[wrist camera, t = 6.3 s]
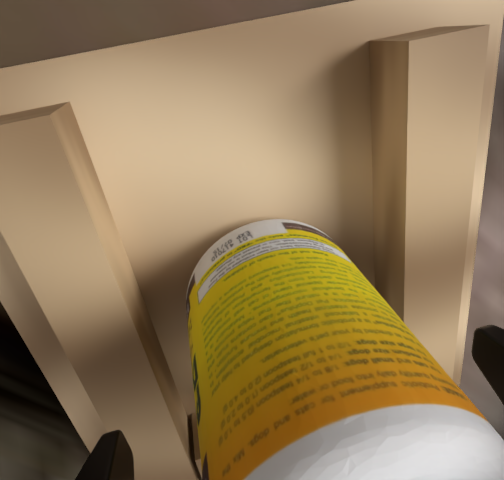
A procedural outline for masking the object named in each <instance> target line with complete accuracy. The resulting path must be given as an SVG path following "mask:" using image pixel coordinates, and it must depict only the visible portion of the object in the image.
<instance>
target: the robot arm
mask: <svg viewBox="0 0 504 480" xmlns="http://www.w3.org/2000/svg"><path fill="white" fill-rule="evenodd" d="M472 356H473V359H474V361H475V363H476V364H477V366H478V367H479V369H480V370H481V372H482V373H483V375H484V376H485V378H486V379H487V381H488V382H489V384H490V385H491V387H492V388H493V390H494V391H495V393H496V394H497V396H498V397H499V399H500V400H501V402H502V403H503V405H504V329H502V328H499V327H497V326H494V325H487V326H483V327H480V328H477V329H476V330H475V331H474V337H473V344H472ZM75 480H134V459H133V453H132V450H131V448H130V446H129V444H128V442H127V440H126V438H125V436H124V434H123V432H122V431H121V430H115V431H111V432H107V433H105V434H103V435H102V436H101V437H100V439H99V440H98V442H97V444H96V445H95V447H94V449H93V450H92V452H91V454H90V455H89V457H88V459H87V460H86V462H85V464H84V465H83V467H82V469H81V470H80V472H79V474H78V476H77V477H76V479H75Z"/></svg>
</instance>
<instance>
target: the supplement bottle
mask: <svg viewBox="0 0 504 480" xmlns="http://www.w3.org/2000/svg"><path fill="white" fill-rule="evenodd" d="M186 311H187V325H188V336H189V346H190V356H191V366H192V377H193V388H194V397H195V408H196V417H197V428H198V437H199V447H200V457H201V469H202V480H504V441H503V439H502V438H501V437H500V435H499V434H498V433H497V432H496V430H495V429H494V428H493V427H492V426H491V425H490V423H489V422H488V421H487V420H486V419H485V417H484V416H483V415H482V414H481V413H480V411H479V410H478V409H477V408H476V407H475V405H474V404H473V403H472V402H471V401H470V400H469V398H468V397H467V396H466V395H465V394H464V393H463V391H462V390H461V389H460V388H459V387H458V386H457V385H456V384H455V382H454V381H453V380H452V379H451V378H450V377H449V375H448V374H447V373H446V372H445V371H444V369H443V368H442V367H441V366H440V365H439V364H438V362H437V361H436V360H435V359H434V358H433V356H432V355H431V354H430V353H429V352H428V350H427V349H426V348H425V347H424V346H423V345H422V344H421V342H420V341H419V340H418V339H417V338H416V336H415V335H414V334H413V333H412V332H411V331H410V329H409V328H408V327H407V326H406V325H405V323H404V322H403V321H402V320H401V319H400V317H399V316H398V315H397V314H396V313H395V312H394V310H393V309H392V308H391V307H390V306H389V304H388V303H387V302H386V301H385V300H384V299H383V297H382V296H381V295H380V294H379V293H378V292H377V290H376V289H375V288H374V287H373V286H372V285H371V283H370V282H369V281H368V280H367V279H366V278H365V277H364V275H363V274H362V273H361V272H360V271H359V269H358V268H357V267H356V266H355V265H354V263H353V262H352V261H351V260H350V259H349V258H348V256H347V255H346V254H345V253H344V252H343V250H342V249H341V248H340V247H339V246H338V245H337V244H336V243H335V242H334V241H333V240H332V239H331V238H330V237H329V236H328V235H326V234H325V233H324V232H322V231H320V230H319V229H317V228H315V227H313V226H311V225H308V224H305V223H302V222H298V221H294V220H287V219H269V220H262V221H257V222H253V223H250V224H247V225H244V226H242V227H239V228H237V229H235V230H233V231H231V232H230V233H228V234H226V235H225V236H223V237H222V238H220V239H219V240H218V241H217V242H216V243H214V244H213V245H212V246H211V247H210V248H209V249H208V250H207V251H206V253H205V254H204V255H203V256H202V258H201V259H200V260H199V262H198V264H197V265H196V267H195V269H194V271H193V273H192V275H191V278H190V281H189V284H188V289H187V295H186Z"/></svg>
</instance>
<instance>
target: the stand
mask: <svg viewBox="0 0 504 480" xmlns="http://www.w3.org/2000/svg"><path fill="white" fill-rule="evenodd" d="M503 16H504V0H355V1H350V2H344V3H339V4H334V5H329V6H324V7H318V8H313V9H308V10H303V11H298V12H292V13H287V14H282V15H277V16H272V17H266V18H261V19H256V20H251V21H246V22H240V23H235V24H230V25H225V26H220V27H214V28H209V29H204V30H199V31H194V32H188V33H183V34H178V35H173V36H168V37H162V38H157V39H152V40H147V41H142V42H136V43H131V44H126V45H121V46H116V47H110V48H105V49H100V50H95V51H90V52H84V53H79V54H74V55H69V56H64V57H58V58H53V59H48V60H43V61H38V62H32V63H27V64H22V65H17V66H12V67H6V68H1V69H0V301H1V303H2V305H3V306H4V308H5V310H6V311H7V313H8V315H9V317H10V318H11V320H12V322H13V323H14V325H15V327H16V328H17V330H18V332H19V333H20V335H21V337H22V339H23V340H24V342H25V344H26V345H27V347H28V349H29V350H30V352H31V354H32V356H33V357H34V359H35V361H36V362H37V364H38V366H39V367H40V369H41V371H42V372H43V374H44V376H45V378H46V379H47V381H48V383H49V384H50V386H51V388H52V389H53V391H54V393H55V394H56V396H57V398H58V400H59V401H60V403H61V405H62V406H63V408H64V410H65V411H66V413H67V415H68V417H69V418H70V420H71V422H72V423H73V425H74V427H75V428H76V430H77V432H78V433H79V435H80V437H81V439H82V440H83V442H84V444H85V445H86V447H87V449H88V450H89V452H90V454H91V452H92V450H93V449H94V447H95V445H96V444H97V442H98V440H99V439H100V437H101V436H102V435H103V434H105V433H107V432H111V431H115V430H121V431H122V432H123V434H124V436H125V438H126V440H127V442H128V444H129V446H130V448H131V450H132V453H133V459H134V480H201V477H202V469H201V457H200V447H199V437H198V428H197V417H196V408H195V397H194V388H193V377H192V366H191V356H190V346H189V336H188V325H187V311H186V295H187V289H188V284H189V281H190V278H191V275H192V273H193V271H194V269H195V267H196V265H197V264H198V262H199V260H200V259H201V258H202V256H203V255H204V254H205V253H206V251H207V250H208V249H209V248H210V247H211V246H212V245H213V244H214V243H216V242H217V241H218V240H219V239H220V238H222V237H223V236H225V235H226V234H228V233H230V232H231V231H233V230H235V229H237V228H239V227H242V226H244V225H247V224H250V223H253V222H257V221H262V220H269V219H287V220H294V221H298V222H302V223H305V224H308V225H311V226H313V227H315V228H317V229H319V230H320V231H322V232H324V233H325V234H326V235H328V236H329V237H330V238H331V239H332V240H333V241H334V242H335V243H336V244H337V245H338V246H339V247H340V248H341V249H342V250H343V252H344V253H345V254H346V255H347V256H348V258H349V259H350V260H351V261H352V262H353V263H354V265H355V266H356V267H357V268H358V269H359V271H360V272H361V273H362V274H363V275H364V277H365V278H366V279H367V280H368V281H369V282H370V283H371V285H372V286H373V287H374V288H375V289H376V290H377V292H378V293H379V294H380V295H381V296H382V297H383V299H384V300H385V301H386V302H387V303H388V304H389V306H390V307H391V308H392V309H393V310H394V312H395V313H396V314H397V315H398V316H399V317H400V319H401V320H402V321H403V322H404V323H405V325H406V326H407V327H408V328H409V329H410V331H411V332H412V333H413V334H414V335H415V336H416V338H417V339H418V340H419V341H420V342H421V344H422V345H423V346H424V347H425V348H426V349H427V350H428V352H429V353H430V354H431V355H432V356H433V358H434V359H435V360H436V361H437V362H438V364H439V365H440V366H441V367H442V368H443V369H444V371H445V372H446V373H447V374H448V375H449V377H450V378H451V379H452V380H453V381H454V382H455V384H456V385H457V386H458V385H460V380H461V371H462V363H463V355H464V346H465V338H466V329H467V321H468V312H469V304H470V295H471V287H472V278H473V270H474V261H475V253H476V245H477V236H478V228H479V219H480V211H481V202H482V194H483V185H484V177H485V168H486V160H487V152H488V143H489V135H490V126H491V118H492V109H493V101H494V92H495V84H496V75H497V67H498V58H499V50H500V42H501V33H502V25H503Z"/></svg>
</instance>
